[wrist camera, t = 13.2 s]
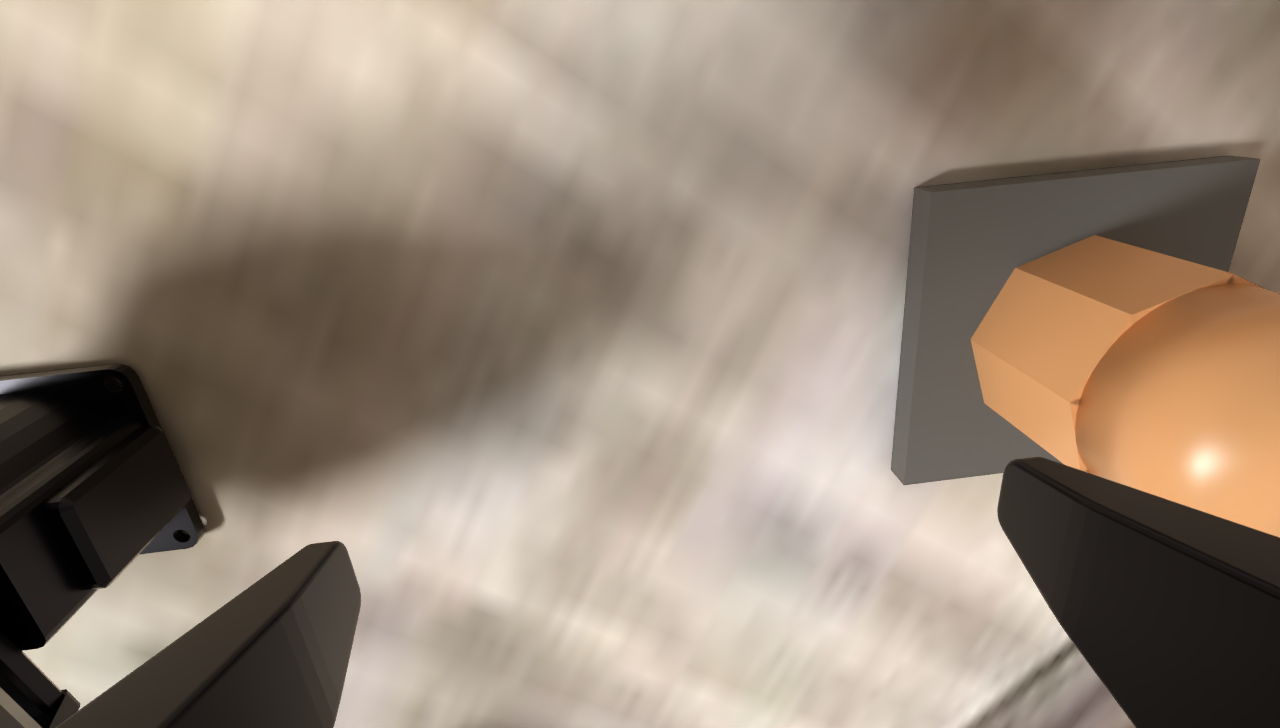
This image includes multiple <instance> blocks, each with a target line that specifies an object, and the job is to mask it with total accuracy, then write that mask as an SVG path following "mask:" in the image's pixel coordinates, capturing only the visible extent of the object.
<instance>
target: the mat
mask: <svg viewBox="0 0 1280 728" xmlns="http://www.w3.org/2000/svg"><path fill="white" fill-rule="evenodd" d="M1259 162H1260V159H1256V158H1246V157H1236V156H1222V157H1212V158H1202V159H1192V160H1182V161H1173V162H1163V163H1153V164H1143V165H1133V166H1123V167H1113V168H1103V169H1094V170H1084V171H1074V172H1064V173H1054V174H1044V175H1034V176H1024V177H1015V178H1005V179H995V180H985V181H975V182H965V183H955V184H945V185H936V186H926V187H916V188H914V200H913V212H912V224H911V236H910V248H909V260H908V272H907V284H906V296H905V308H904V320H903V332H902V344H901V356H900V368H899V380H898V392H897V404H896V416H895V428H894V439H893V451H892V463H891V470H892V472H893V473H894V474H895V475H896V476H897V478H898V479H899V480H900V481H901V482H902V484H903V485H909V484H917V483H925V482H933V481H941V480H949V479H957V478H965V477H973V476H981V475H989V474H997V473H1004V469H1005V466H1006V465H1007V463H1008V462H1009V461H1011V460H1013V459H1021V458H1029V457H1043V458H1046V459H1049V460H1052V461H1055V462H1058V463H1061V464H1063V463H1062V462H1060V461H1059V460H1058V459H1056V458H1055V457H1054V456H1052V455H1051V454H1050V453H1049V452H1047V451H1046V450H1045V449H1043V448H1042V447H1041V446H1039V445H1038V444H1037V443H1035V442H1034V441H1033V440H1032V439H1030V438H1029V437H1028V436H1026V435H1025V434H1024V433H1022V432H1021V431H1020V430H1019V429H1017V428H1016V427H1015V426H1013V425H1012V424H1011V423H1009V422H1008V421H1007V420H1005V419H1004V418H1003V417H1002V416H1000V415H999V414H998V413H996V412H995V411H994V410H992V409H991V408H990V407H989V406H987V405H986V404H985V403H984V400H983V395H982V390H981V386H980V381H979V377H978V372H977V367H976V363H975V358H974V353H973V349H972V344H971V340H970V339H971V338H972V336H973V335H974V333H975V331H976V330H977V328H978V327H979V325H980V323H981V322H982V320H983V319H984V317H985V315H986V314H987V312H988V311H989V309H990V307H991V306H992V304H993V303H994V301H995V299H996V298H997V296H998V295H999V293H1000V291H1001V290H1002V288H1003V287H1004V285H1005V283H1006V282H1007V280H1008V279H1009V277H1010V275H1011V274H1012V272H1013V270H1014V269H1015V268H1016V267H1019V266H1021V265H1023V264H1026V263H1028V262H1031V261H1033V260H1035V259H1038V258H1040V257H1043V256H1045V255H1047V254H1050V253H1052V252H1055V251H1057V250H1060V249H1062V248H1064V247H1067V246H1069V245H1072V244H1074V243H1076V242H1079V241H1081V240H1084V239H1086V238H1088V237H1091V236H1093V235H1096V236H1100V237H1104V238H1107V239H1111V240H1114V241H1118V242H1122V243H1125V244H1129V245H1132V246H1136V247H1139V248H1143V249H1147V250H1150V251H1154V252H1157V253H1161V254H1165V255H1168V256H1172V257H1175V258H1179V259H1183V260H1186V261H1190V262H1193V263H1197V264H1200V265H1204V266H1208V267H1211V268H1215V269H1218V270H1222V271H1226V272H1228V270H1229V267H1230V264H1231V260H1232V257H1233V253H1234V250H1235V246H1236V243H1237V239H1238V236H1239V232H1240V229H1241V225H1242V222H1243V218H1244V215H1245V211H1246V208H1247V204H1248V201H1249V197H1250V194H1251V190H1252V187H1253V183H1254V180H1255V176H1256V173H1257V169H1258V166H1259Z"/></svg>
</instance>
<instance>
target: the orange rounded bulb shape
mask: <svg viewBox="0 0 1280 728" xmlns="http://www.w3.org/2000/svg"><path fill="white" fill-rule="evenodd" d="M970 340H971V344H972V349H973V353H974V358H975V363H976V367H977V372H978V377H979V381H980V386H981V390H982V395H983V400H984V403H985V404H986V405H987V406H989V407H990V408H991V409H992V410H994V411H995V412H996V413H998V414H999V415H1000V416H1002V417H1003V418H1004V419H1005V420H1007V421H1008V422H1009V423H1011V424H1012V425H1013V426H1015V427H1016V428H1017V429H1019V430H1020V431H1021V432H1022V433H1024V434H1025V435H1026V436H1028V437H1029V438H1030V439H1032V440H1033V441H1034V442H1035V443H1037V444H1038V445H1039V446H1041V447H1042V448H1043V449H1045V450H1046V451H1047V452H1049V453H1050V454H1051V455H1052V456H1054V457H1055V458H1056V459H1058V460H1059V461H1060V462H1062V463H1063V464H1064V465H1067V466H1070V467H1073V468H1076V469H1079V470H1082V471H1085V472H1088V473H1091V474H1093V475H1096V476H1099V477H1102V478H1105V479H1108V480H1111V481H1114V482H1117V483H1120V484H1123V485H1126V486H1129V487H1132V488H1135V489H1138V490H1141V491H1144V492H1147V493H1150V494H1153V495H1156V496H1158V497H1161V498H1164V499H1167V500H1170V501H1173V502H1176V503H1179V504H1182V505H1185V506H1188V507H1191V508H1194V509H1197V510H1200V511H1203V512H1206V513H1209V514H1212V515H1215V516H1218V517H1221V518H1223V519H1226V520H1229V521H1232V522H1235V523H1238V524H1241V525H1244V526H1247V527H1250V528H1253V529H1256V530H1259V531H1262V532H1265V533H1268V534H1271V535H1274V536H1277V537H1280V293H1277V292H1273V291H1270V290H1266V289H1264V288H1262V287H1259V286H1257V285H1255V284H1253V283H1251V282H1249V281H1247V280H1245V279H1243V278H1241V277H1239V276H1237V275H1235V274H1233V273H1229V272H1226V271H1222V270H1218V269H1215V268H1211V267H1208V266H1204V265H1200V264H1197V263H1193V262H1190V261H1186V260H1183V259H1179V258H1175V257H1172V256H1168V255H1165V254H1161V253H1157V252H1154V251H1150V250H1147V249H1143V248H1139V247H1136V246H1132V245H1129V244H1125V243H1122V242H1118V241H1114V240H1111V239H1107V238H1104V237H1100V236H1096V235H1093V236H1091V237H1088V238H1086V239H1084V240H1081V241H1079V242H1076V243H1074V244H1072V245H1069V246H1067V247H1064V248H1062V249H1060V250H1057V251H1055V252H1052V253H1050V254H1047V255H1045V256H1043V257H1040V258H1038V259H1035V260H1033V261H1031V262H1028V263H1026V264H1023V265H1021V266H1019V267H1016V268H1015V269H1014V270H1013V272H1012V274H1011V275H1010V277H1009V279H1008V280H1007V282H1006V283H1005V285H1004V287H1003V288H1002V290H1001V291H1000V293H999V295H998V296H997V298H996V299H995V301H994V303H993V304H992V306H991V307H990V309H989V311H988V312H987V314H986V315H985V317H984V319H983V320H982V322H981V323H980V325H979V327H978V328H977V330H976V331H975V333H974V335H973V336H972V338H971V339H970Z"/></svg>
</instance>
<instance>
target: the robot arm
mask: <svg viewBox="0 0 1280 728" xmlns="http://www.w3.org/2000/svg"><path fill="white" fill-rule="evenodd" d="M113 377H115V378H117V379H119V380H120V381H121V383H122V384H123V387H121V386H119V385H117V384H116V383H115V382H114V381H113ZM997 511H998V519H999V522H1000V525H1001V527H1002V529H1003V531H1004V533H1005V534H1006V536H1007V538H1008V539H1009V541H1010V543H1011V544H1012V546H1013V548H1014V549H1015V551H1016V553H1017V554H1018V556H1019V558H1020V559H1021V561H1022V563H1023V564H1024V566H1025V568H1026V569H1027V571H1028V573H1029V574H1030V576H1031V578H1032V579H1033V581H1034V583H1035V584H1036V586H1037V588H1038V589H1039V591H1040V593H1041V594H1042V596H1043V598H1044V599H1045V601H1046V603H1047V604H1048V606H1049V608H1050V609H1051V611H1052V612H1053V614H1054V615H1055V617H1056V619H1057V620H1058V622H1059V623H1060V625H1061V626H1062V628H1063V629H1064V630H1065V632H1066V633H1067V635H1068V636H1069V638H1070V639H1071V640H1072V642H1073V643H1074V644H1075V646H1076V647H1077V649H1078V650H1079V651H1080V653H1081V654H1082V655H1083V657H1084V658H1085V659H1086V661H1087V662H1088V663H1089V665H1090V666H1091V667H1092V669H1093V670H1094V672H1095V673H1096V674H1097V676H1098V677H1099V678H1100V680H1101V681H1102V682H1103V684H1104V685H1105V686H1106V688H1107V689H1108V690H1109V692H1110V693H1111V695H1112V696H1113V697H1114V699H1115V700H1116V701H1117V703H1118V704H1119V705H1120V707H1121V708H1122V709H1123V711H1124V712H1125V713H1126V715H1127V716H1128V718H1129V719H1130V720H1131V722H1132V723H1133V724H1134V726H1135V727H1136V728H1280V537H1277V536H1274V535H1271V534H1268V533H1265V532H1262V531H1259V530H1256V529H1253V528H1250V527H1247V526H1244V525H1241V524H1238V523H1235V522H1232V521H1229V520H1226V519H1223V518H1221V517H1218V516H1215V515H1212V514H1209V513H1206V512H1203V511H1200V510H1197V509H1194V508H1191V507H1188V506H1185V505H1182V504H1179V503H1176V502H1173V501H1170V500H1167V499H1164V498H1161V497H1158V496H1156V495H1153V494H1150V493H1147V492H1144V491H1141V490H1138V489H1135V488H1132V487H1129V486H1126V485H1123V484H1120V483H1117V482H1114V481H1111V480H1108V479H1105V478H1102V477H1099V476H1096V475H1093V474H1091V473H1088V472H1085V471H1082V470H1079V469H1076V468H1073V467H1070V466H1067V465H1064V464H1061V463H1058V462H1055V461H1052V460H1049V459H1046V458H1043V457H1029V458H1021V459H1013V460H1011V461H1009V462H1008V463H1007V465H1006V466H1005V469H1004V473H1003V479H1002V485H1001V490H1000V496H999V502H998V510H997ZM181 530H184V531H186V532H188V534H189V535H187V534H185V533H183V532H182V531H181ZM204 532H205V531H204V526H203V524H202V521H201V519H200V517H199V514H198V512H197V510H196V507H195V505H194V503H193V501H192V498H191V494H190V491H189V489H188V487H187V484H186V482H185V480H184V477H183V475H182V473H181V470H180V468H179V466H178V463H177V461H176V459H175V457H174V454H173V452H172V450H171V447H170V445H169V443H168V440H167V438H166V436H165V433H164V432H163V431H162V429H161V426H160V424H159V422H158V419H157V417H156V415H155V412H154V410H153V408H152V406H151V403H150V401H149V399H148V396H147V394H146V392H145V389H144V387H143V385H142V382H141V380H140V378H139V376H138V375H137V373H136V372H135V371H134V370H133V369H131V368H130V367H128V366H125V365H123V364H110V365H101V366H92V367H82V368H73V369H64V370H55V371H46V372H36V373H27V374H18V375H9V376H0V728H333V727H334V724H335V720H336V716H337V712H338V708H339V704H340V700H341V695H342V690H343V686H344V681H345V676H346V672H347V667H348V663H349V658H350V653H351V649H352V644H353V639H354V635H355V630H356V625H357V621H358V616H359V611H360V606H361V593H360V588H359V585H358V582H357V579H356V576H355V572H354V569H353V566H352V563H351V560H350V557H349V554H348V551H347V549H346V547H345V546H344V544H343V543H341V542H339V541H332V542H324V543H315V544H310V545H307V546H306V547H304V548H303V549H301V550H300V551H299V552H297V553H296V554H294V555H293V556H292V557H290V558H289V559H288V560H286V561H285V562H283V563H282V564H281V565H279V566H278V567H277V568H275V569H274V570H272V571H271V572H270V573H268V574H267V575H265V576H264V577H263V578H261V579H260V580H259V581H257V582H256V583H254V584H253V585H252V586H250V587H249V588H248V589H246V590H245V591H243V592H242V593H241V594H239V595H238V596H236V597H235V598H234V599H232V600H231V601H230V602H228V603H227V604H225V605H224V606H223V607H221V608H220V609H219V610H217V611H216V612H214V613H213V614H212V615H210V616H209V617H207V618H206V619H205V620H203V621H202V622H201V623H199V624H198V625H196V626H195V627H194V628H192V629H191V630H189V631H188V632H187V633H185V634H184V635H183V636H181V637H180V638H178V639H177V640H176V641H174V642H173V643H172V644H170V645H169V646H167V647H166V648H165V649H163V650H162V651H160V652H159V653H158V654H156V655H155V656H154V657H152V658H151V659H149V660H148V661H147V662H145V663H144V664H143V665H141V666H140V667H138V668H137V669H136V670H134V671H133V672H131V673H130V674H129V675H127V676H126V677H125V678H123V679H122V680H120V681H119V682H118V683H116V684H115V685H114V686H112V687H111V688H109V689H108V690H107V691H105V692H104V693H102V694H101V695H100V696H98V697H97V698H96V699H94V700H93V701H91V702H90V703H89V704H87V705H86V706H84V707H83V708H82V709H80V710H79V711H78V709H79V707H80V703H79V702H78V701H77V700H76V699H75V698H74V697H73V696H72V695H71V694H70V693H69V692H68V691H67V690H66V689H65V690H60V689H59V688H58V687H57V686H56V685H55V684H54V683H53V682H52V681H51V680H50V679H49V678H48V677H47V676H46V675H45V674H44V673H43V672H42V671H41V670H40V669H39V668H38V667H37V666H36V665H35V664H34V663H33V662H32V661H31V660H30V659H29V658H28V657H27V656H26V655H25V654H24V653H23V652H22V650H30V649H37V648H40V647H43V646H44V645H45V644H46V643H47V642H48V641H49V640H50V639H51V638H52V637H53V636H54V635H55V634H56V633H57V632H58V631H59V630H60V629H61V628H62V626H63V625H64V624H65V623H66V622H67V621H68V620H69V619H70V618H71V617H72V616H73V615H74V614H75V613H76V612H77V611H78V610H79V609H80V608H81V607H82V606H83V605H84V604H85V603H86V601H87V600H88V599H89V598H90V597H91V596H92V595H93V594H94V593H95V592H96V591H97V590H98V589H101V588H106V587H108V586H109V585H110V584H111V583H112V582H113V581H114V580H115V579H116V578H117V577H118V576H119V575H120V574H121V573H122V572H123V571H124V569H125V568H126V567H127V566H128V565H129V564H130V563H131V562H132V561H133V560H134V559H135V558H136V557H137V556H138V555H139V554H146V553H154V552H162V551H170V550H178V549H186V548H190V547H193V546H194V545H195V544H197V542H198V541H199V540H200V539H201V538H202V536H203V535H204ZM77 711H78V712H77Z"/></svg>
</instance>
